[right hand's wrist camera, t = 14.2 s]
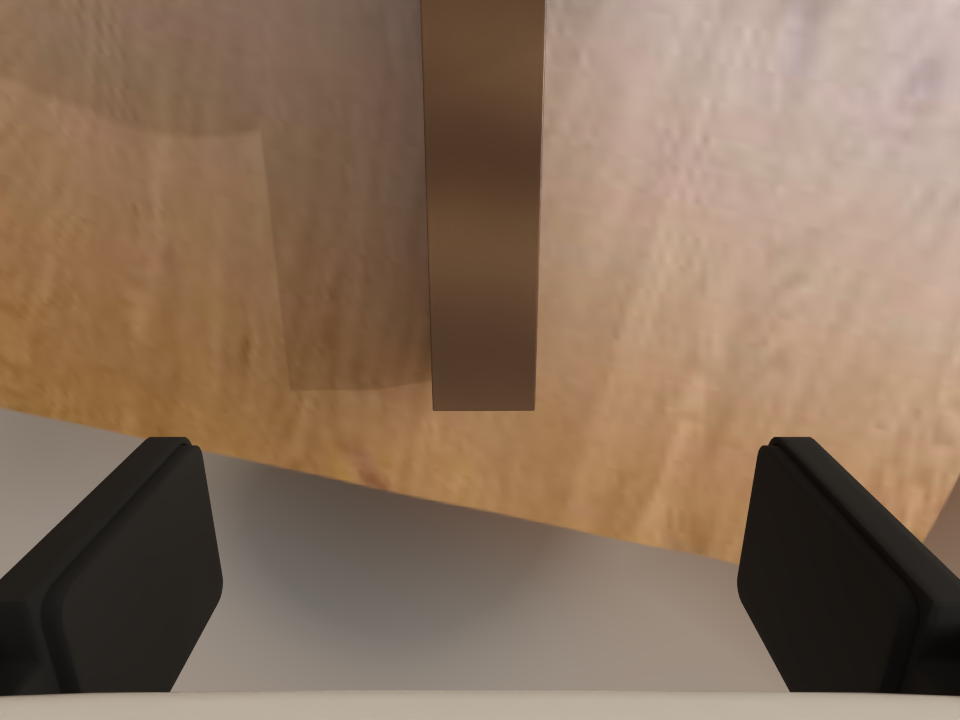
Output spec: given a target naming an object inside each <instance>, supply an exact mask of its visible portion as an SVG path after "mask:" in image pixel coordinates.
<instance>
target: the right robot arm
mask: <svg viewBox="0 0 960 720" xmlns="http://www.w3.org/2000/svg"><path fill="white" fill-rule="evenodd" d="M737 587H738V593H739V597H740V600H741V602H742V604H743V606H744V608H745V609H746V611H747V613H748V615H749V617H750V619H751V620H752V622H753V624H754V626H755V628H756V630H757V632H758V634H759V635H760V637H761V639H762V641H763V643H764V645H765V646H766V648H767V650H768V652H769V654H770V656H771V658H772V659H773V661H774V663H775V665H776V667H777V669H778V671H779V672H780V674H781V676H782V678H783V680H784V682H785V683H786V685H787V687H788V689H789V691H790V692H711V691H710V692H708V691H565V690H563V691H562V690H429V691H428V690H427V691H426V690H425V691H423V690H420V691H419V690H418V691H254V692H253V691H252V692H170V691H171V689H172V687H173V685H174V683H175V682H176V680H177V678H178V676H179V674H180V672H181V670H182V669H183V667H184V665H185V663H186V661H187V659H188V658H189V656H190V654H191V652H192V650H193V648H194V646H195V645H196V643H197V641H198V639H199V637H200V635H201V633H202V632H203V630H204V628H205V626H206V624H207V622H208V621H209V619H210V617H211V615H212V613H213V611H214V609H215V608H216V606H217V604H218V602H219V600H220V597H221V593H222V588H223V577H222V571H221V565H220V559H219V553H218V547H217V540H216V535H215V528H214V522H213V516H212V510H211V504H210V498H209V492H208V486H207V480H206V474H205V468H204V462H203V456H202V452H201V449H200V448H199V447H198V446H192V445H191V443H190V441H189V439H187V438H186V437H149V438H148V439H146V440H145V441H144V442H143V443H142V444H141V445H140V446H139V447H138V448H137V449H136V450H134V451H133V452H132V453H131V454H130V455H129V456H128V457H127V458H126V459H125V460H124V461H123V462H122V463H121V464H120V465H119V466H118V467H117V468H116V469H115V470H114V471H113V472H112V473H111V474H110V475H108V477H106V478H105V479H104V480H103V481H102V482H101V483H100V484H99V485H98V486H97V487H96V488H95V489H94V490H93V491H92V492H91V493H90V494H89V495H88V496H87V497H86V498H85V499H83V500H82V501H81V502H80V503H79V504H78V505H77V506H76V507H75V508H74V509H73V510H72V511H71V512H70V513H69V514H68V515H67V516H66V517H65V518H64V519H63V520H62V521H61V522H60V523H59V524H57V525H56V527H54V528H53V529H52V530H51V531H50V532H49V533H48V534H47V535H46V536H45V537H44V538H43V539H42V540H41V541H40V542H39V543H38V544H37V545H36V546H35V547H34V548H33V549H31V550H30V551H29V552H28V553H27V554H26V555H25V556H24V557H23V558H22V559H21V560H20V561H19V562H18V563H17V564H16V565H15V566H14V567H13V568H12V569H11V570H10V571H9V572H8V573H6V574H5V575H4V576H3V577H2V578H1V579H0V720H960V579H959V578H958V577H957V576H956V575H954V573H952V572H951V571H950V570H949V569H948V568H947V567H946V566H945V565H944V564H943V563H942V562H941V561H940V560H939V559H938V558H937V557H936V556H935V555H934V554H933V553H932V552H931V551H930V550H928V549H927V548H926V547H925V546H924V545H923V544H922V543H921V542H920V541H919V540H918V539H917V538H916V537H915V536H914V535H913V534H912V533H911V532H910V531H909V530H908V529H907V528H906V527H905V526H904V525H903V524H901V523H900V522H899V521H898V520H897V519H896V518H895V517H894V516H893V515H892V514H891V513H890V512H889V511H888V510H887V509H886V508H885V507H884V506H883V505H882V504H881V503H880V502H879V501H878V500H877V499H875V498H874V497H873V496H872V495H871V494H870V493H869V492H868V491H867V490H866V489H865V488H864V487H863V486H862V485H861V484H860V483H859V482H858V481H857V480H856V479H855V478H854V477H853V476H852V475H850V474H849V473H848V472H847V471H846V470H845V469H844V468H843V467H842V466H841V465H840V464H839V463H838V462H837V461H836V460H835V459H834V458H833V457H832V456H831V455H830V454H829V453H828V452H827V451H826V450H824V449H823V448H822V447H821V446H820V445H819V444H818V443H817V442H816V441H815V440H814V439H812V438H811V437H774V438H773V439H771V441H770V443H769V445H768V446H762V447H761V448H760V449H759V452H758V456H757V462H756V468H755V474H754V480H753V486H752V492H751V498H750V504H749V510H748V516H747V522H746V528H745V534H744V540H743V546H742V553H741V559H740V565H739V571H738V577H737Z"/></svg>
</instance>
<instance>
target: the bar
mask: <svg viewBox="0 0 960 720" xmlns="http://www.w3.org/2000/svg"><path fill="white" fill-rule="evenodd" d="M420 5H421V38H422V70H423V103H424V136H425V169H426V202H427V235H428V267H429V300H430V333H431V366H432V399H433V411H534V410H535V387H536V352H537V318H538V283H539V249H540V214H541V180H542V145H543V110H544V76H545V41H546V7H547V0H420Z"/></svg>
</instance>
